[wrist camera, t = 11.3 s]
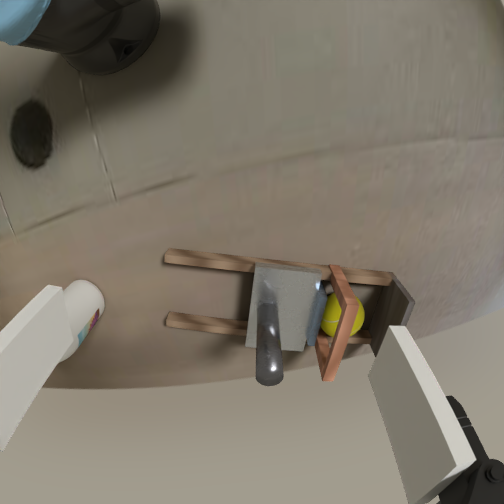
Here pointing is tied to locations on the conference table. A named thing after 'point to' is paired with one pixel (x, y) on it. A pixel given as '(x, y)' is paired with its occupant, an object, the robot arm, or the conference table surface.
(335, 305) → the tennis ball
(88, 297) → the milk bottle
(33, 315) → the robot arm
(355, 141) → the conference table surface
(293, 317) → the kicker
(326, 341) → the lane
